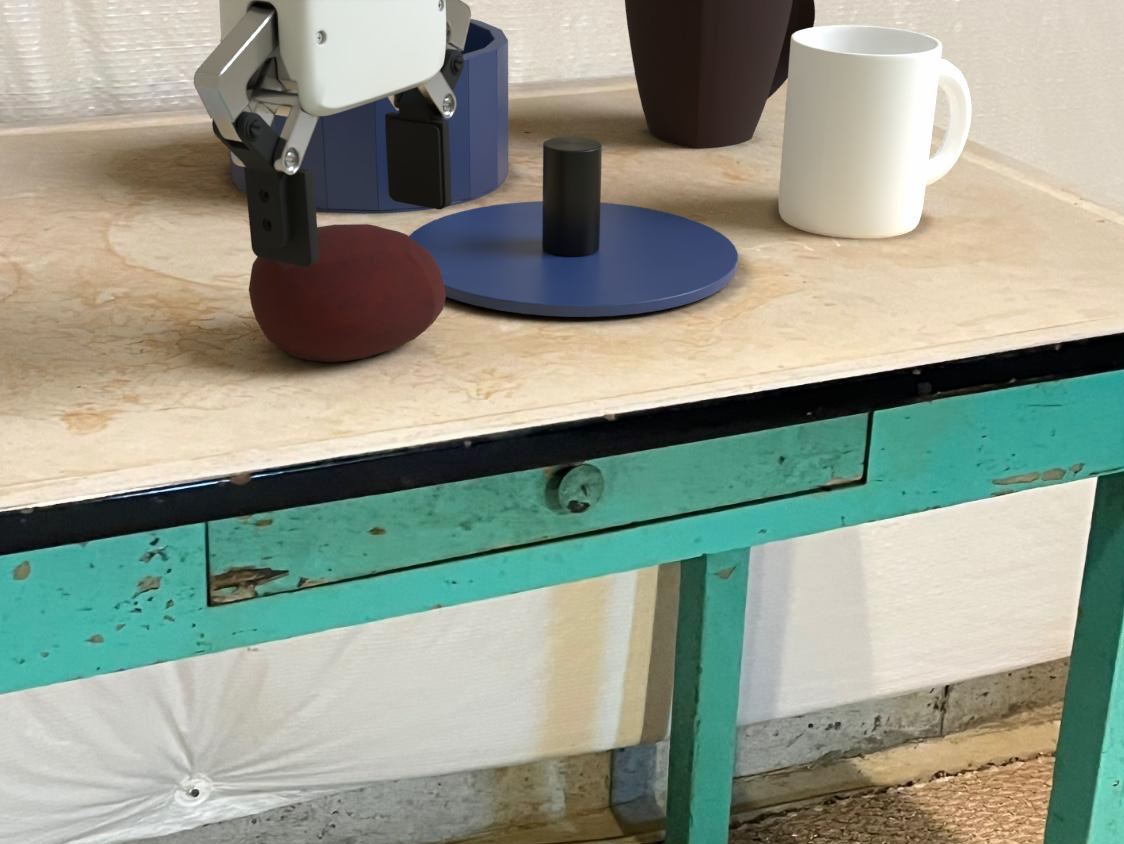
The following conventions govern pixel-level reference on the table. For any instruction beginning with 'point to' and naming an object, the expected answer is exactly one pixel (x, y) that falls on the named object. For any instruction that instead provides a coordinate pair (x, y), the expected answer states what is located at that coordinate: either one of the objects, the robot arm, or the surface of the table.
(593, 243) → the lid
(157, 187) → the table surface
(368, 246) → the potato
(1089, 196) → the table surface
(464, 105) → the pot
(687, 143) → the mug
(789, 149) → the mug
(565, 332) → the table surface
